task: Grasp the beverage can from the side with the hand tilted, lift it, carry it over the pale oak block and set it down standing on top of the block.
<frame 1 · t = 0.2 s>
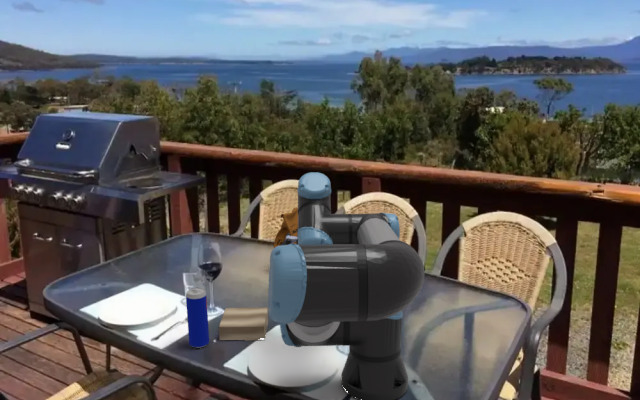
hand: (312, 275, 155), 16 cm above the table, tool tilted 35°, fingers open, 13 cm apart
beverage can: (199, 345, 150), on the table
oak block: (244, 330, 158), on the table
coffee package: (291, 271, 202), on the table
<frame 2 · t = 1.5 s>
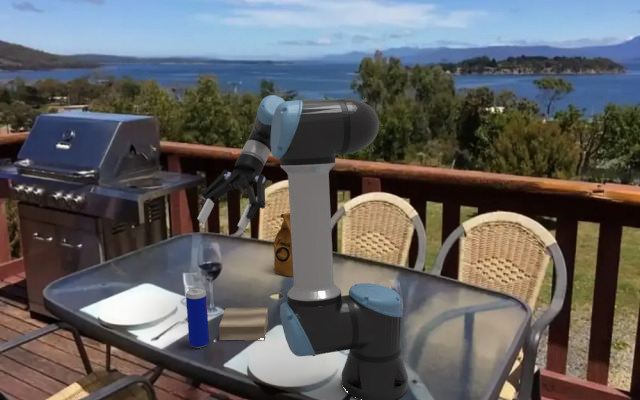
hand: (220, 224, 152), 30 cm above the table, tool tilted 45°, fingers open, 13 cm apart
nothing on the table moved.
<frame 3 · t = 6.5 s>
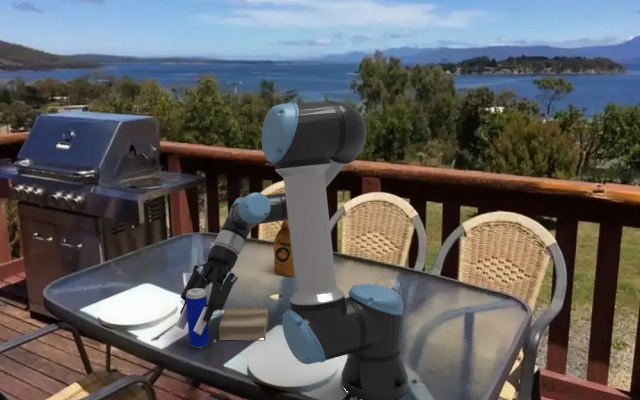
hand: (188, 330, 145), 6 cm above the table, tool tilted 45°, fingers closed on beverage can, 5 cm apart
beverage can: (199, 345, 150), on the table, touching gripper
everything else where it was.
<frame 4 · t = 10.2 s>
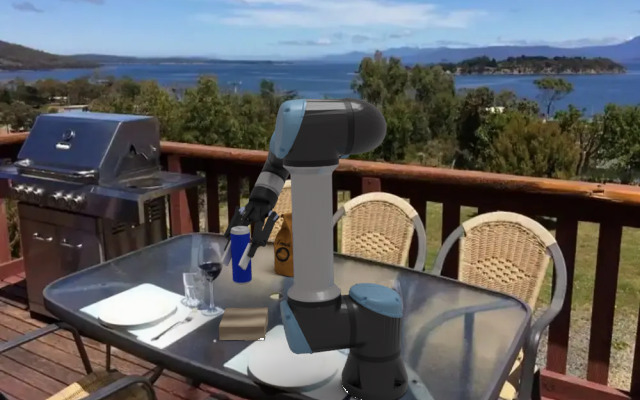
hand: (233, 265, 150), 20 cm above the table, tool tilted 45°, fingers closed on beverage can, 5 cm apart
beverage can: (242, 282, 154), point 14 cm above the table, touching gripper
everything else where it was.
when the fingers open (10 cm above the table, at t = 14.1 s): beverage can stays where it is, resting on oak block.
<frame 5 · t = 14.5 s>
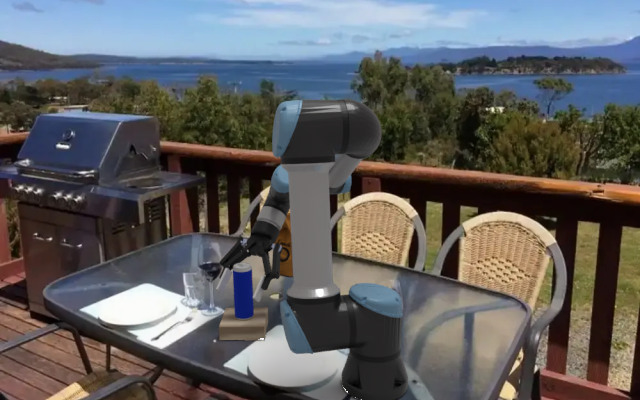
hand: (237, 295, 153), 11 cm above the table, tool tilted 45°, fingers open, 11 cm apart
beverage can: (244, 317, 157), point 4 cm above the table, touching oak block
everything else where it was.
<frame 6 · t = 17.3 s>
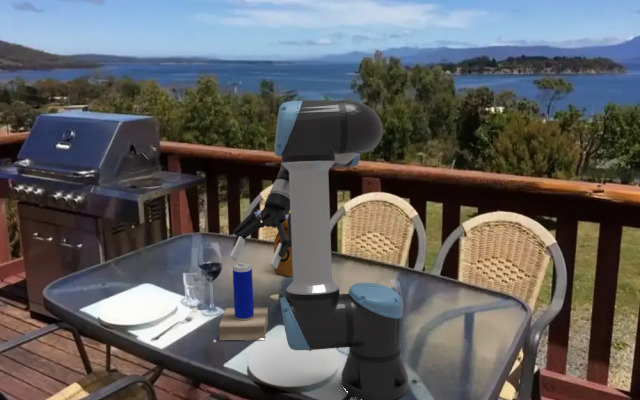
hand: (252, 262, 158), 18 cm above the table, tool tilted 45°, fingers open, 13 cm apart
nothing on the table moved.
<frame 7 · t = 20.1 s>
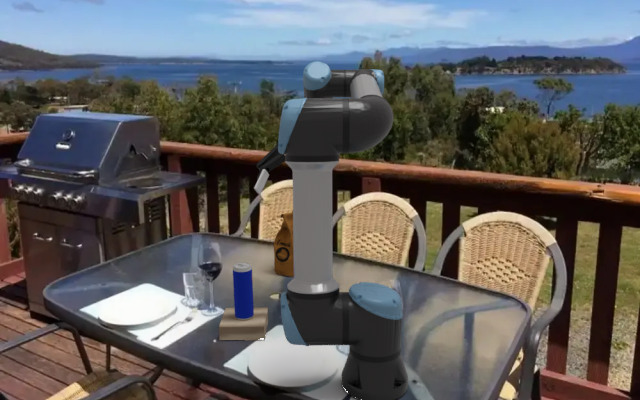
hand: (277, 194, 153), 38 cm above the table, tool tilted 45°, fingers open, 13 cm apart
nothing on the table moved.
at the end: beverage can inside the target area on the oak block (0.0 cm from its centre), point 3.8 cm above the oak block's base; beverage can tilted 0°; the gripper is holding nothing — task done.
